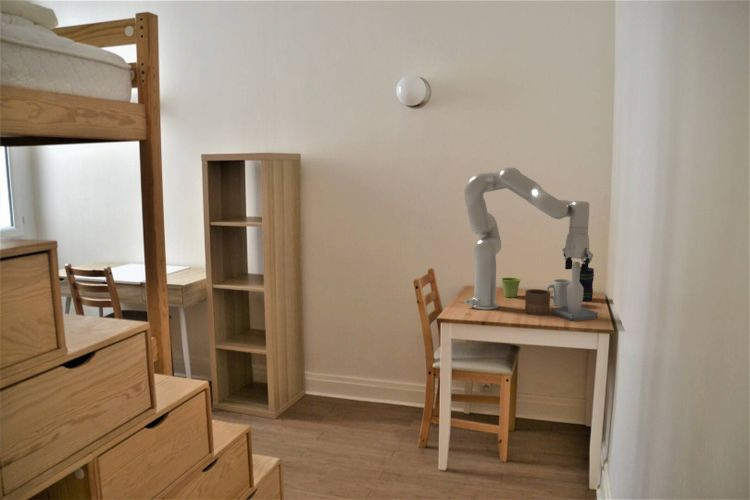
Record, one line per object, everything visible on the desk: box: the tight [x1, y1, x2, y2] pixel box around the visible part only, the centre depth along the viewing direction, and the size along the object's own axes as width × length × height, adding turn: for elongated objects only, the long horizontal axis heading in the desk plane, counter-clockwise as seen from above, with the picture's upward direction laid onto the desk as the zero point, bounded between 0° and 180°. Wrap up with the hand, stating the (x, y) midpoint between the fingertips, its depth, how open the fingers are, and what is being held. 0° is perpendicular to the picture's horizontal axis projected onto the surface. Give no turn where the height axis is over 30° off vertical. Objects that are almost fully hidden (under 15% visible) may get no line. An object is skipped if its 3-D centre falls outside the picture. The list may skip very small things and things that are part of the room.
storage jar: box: [579, 266, 595, 303], centre depth 281 cm, size 10×10×15 cm
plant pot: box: [500, 277, 522, 299], centre depth 287 cm, size 9×9×9 cm
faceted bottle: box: [566, 261, 584, 314], centre depth 250 cm, size 6×6×22 cm
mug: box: [545, 278, 572, 307], centre depth 271 cm, size 12×8×11 cm
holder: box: [524, 288, 551, 316], centre depth 257 cm, size 10×10×9 cm
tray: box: [551, 306, 599, 322], centre depth 251 cm, size 13×13×2 cm
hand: (576, 271), depth 249 cm, fingers open, 9 cm apart
